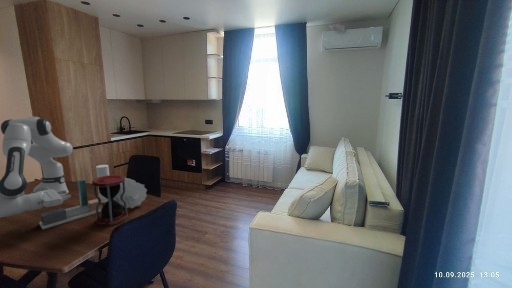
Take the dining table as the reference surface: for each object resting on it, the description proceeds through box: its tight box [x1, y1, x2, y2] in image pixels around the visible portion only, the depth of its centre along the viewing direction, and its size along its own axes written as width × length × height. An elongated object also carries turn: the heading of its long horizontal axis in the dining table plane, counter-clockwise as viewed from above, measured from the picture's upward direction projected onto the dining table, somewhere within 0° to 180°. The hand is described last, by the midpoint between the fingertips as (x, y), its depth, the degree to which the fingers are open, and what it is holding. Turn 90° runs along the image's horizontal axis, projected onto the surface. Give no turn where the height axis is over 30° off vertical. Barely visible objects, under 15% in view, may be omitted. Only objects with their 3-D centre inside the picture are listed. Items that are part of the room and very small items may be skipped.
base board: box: [39, 209, 101, 230], centre depth 142 cm, size 30×8×1 cm, turn 141°
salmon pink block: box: [87, 198, 103, 212], centre depth 149 cm, size 6×5×5 cm
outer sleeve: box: [40, 207, 67, 226], centre depth 134 cm, size 10×5×5 cm, turn 141°
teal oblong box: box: [64, 178, 91, 217], centre depth 141 cm, size 16×4×20 cm, turn 141°
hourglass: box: [91, 174, 129, 227], centre depth 138 cm, size 16×16×25 cm
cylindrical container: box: [95, 164, 110, 204], centre depth 163 cm, size 7×7×25 cm
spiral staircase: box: [113, 176, 148, 209], centre depth 159 cm, size 18×18×25 cm
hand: (68, 193), depth 138 cm, fingers open, 8 cm apart
